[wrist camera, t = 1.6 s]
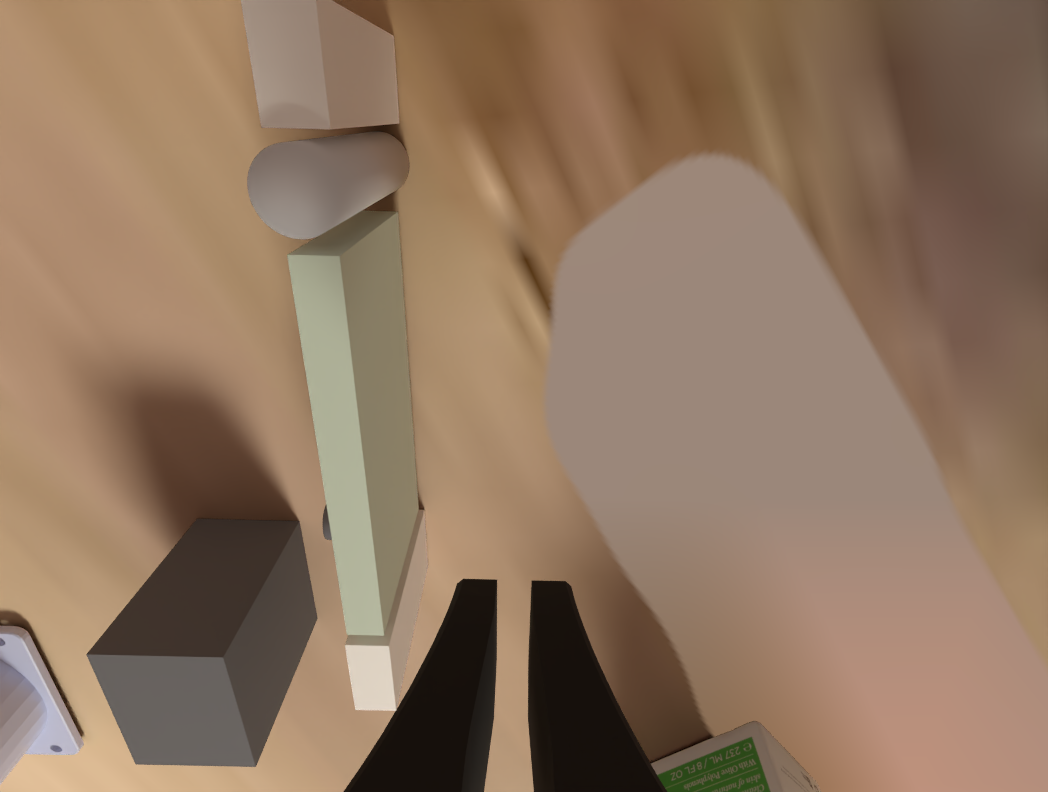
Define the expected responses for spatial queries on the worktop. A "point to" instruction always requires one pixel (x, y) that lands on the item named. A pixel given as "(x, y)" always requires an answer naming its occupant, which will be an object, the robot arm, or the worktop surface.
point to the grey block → (209, 644)
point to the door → (360, 405)
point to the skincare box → (735, 765)
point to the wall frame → (334, 211)
